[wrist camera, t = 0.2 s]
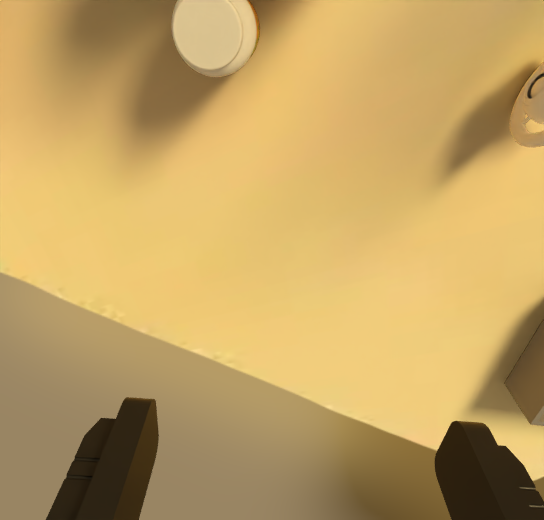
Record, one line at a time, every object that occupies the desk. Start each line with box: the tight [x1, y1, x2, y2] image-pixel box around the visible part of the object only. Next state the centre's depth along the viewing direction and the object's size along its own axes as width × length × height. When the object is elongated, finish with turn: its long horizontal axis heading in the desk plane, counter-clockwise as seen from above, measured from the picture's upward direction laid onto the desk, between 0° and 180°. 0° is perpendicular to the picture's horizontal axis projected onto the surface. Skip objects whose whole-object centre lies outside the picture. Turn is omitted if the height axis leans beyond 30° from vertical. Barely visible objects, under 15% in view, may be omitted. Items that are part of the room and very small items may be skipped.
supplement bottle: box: [171, 0, 260, 77], centre depth 27 cm, size 5×5×10 cm
